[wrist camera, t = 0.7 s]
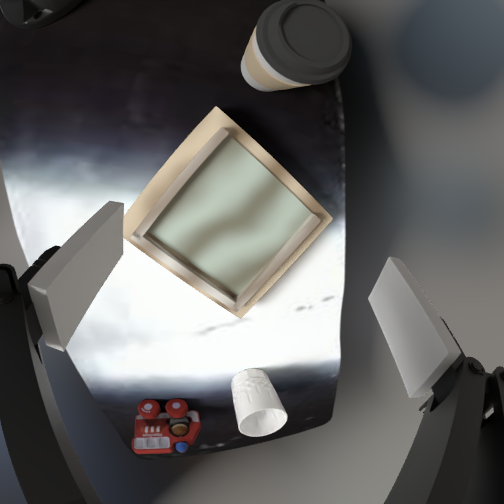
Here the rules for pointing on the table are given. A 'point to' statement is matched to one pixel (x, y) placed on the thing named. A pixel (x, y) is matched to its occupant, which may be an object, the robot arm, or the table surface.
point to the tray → (224, 215)
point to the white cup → (256, 403)
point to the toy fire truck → (165, 427)
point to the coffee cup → (296, 46)
